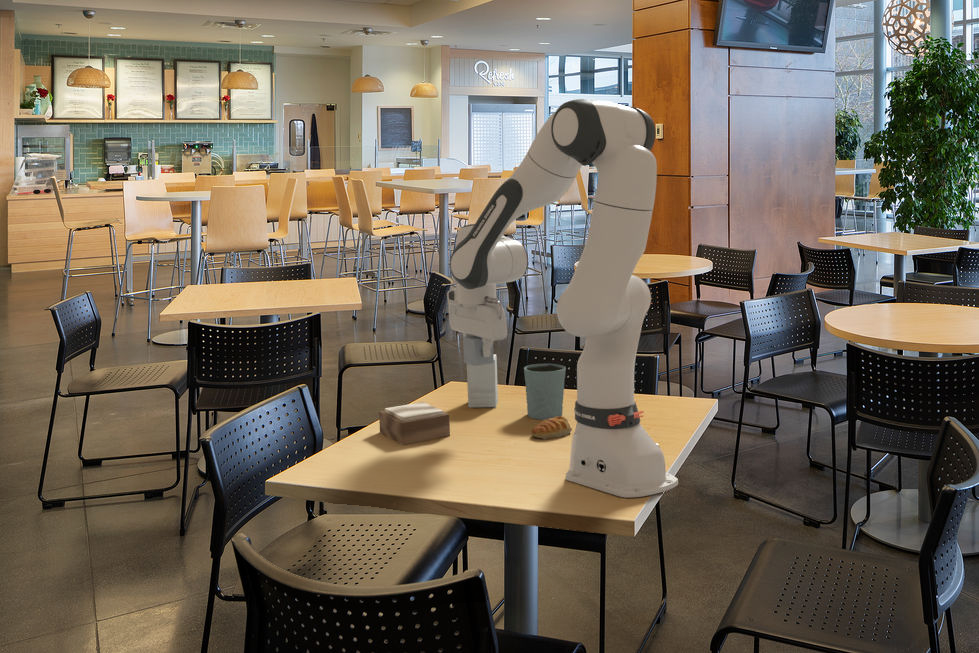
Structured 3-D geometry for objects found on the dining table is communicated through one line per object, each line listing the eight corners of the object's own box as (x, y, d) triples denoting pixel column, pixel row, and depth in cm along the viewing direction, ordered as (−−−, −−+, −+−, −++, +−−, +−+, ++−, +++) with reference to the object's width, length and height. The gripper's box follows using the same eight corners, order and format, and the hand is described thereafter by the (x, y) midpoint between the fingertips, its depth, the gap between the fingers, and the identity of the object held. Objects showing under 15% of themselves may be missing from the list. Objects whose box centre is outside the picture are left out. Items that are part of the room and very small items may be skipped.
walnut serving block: (449, 435, 204) (449, 411, 203) (402, 444, 198) (401, 419, 197) (425, 424, 214) (424, 400, 213) (379, 432, 208) (378, 408, 207)
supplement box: (498, 400, 235) (497, 353, 233) (496, 408, 227) (495, 359, 225) (470, 400, 235) (469, 353, 233) (467, 407, 228) (466, 359, 226)
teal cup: (521, 419, 216) (521, 371, 214) (527, 409, 226) (526, 362, 224) (563, 420, 214) (563, 372, 212) (567, 410, 224) (567, 363, 222)
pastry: (546, 442, 198) (546, 426, 197) (524, 437, 202) (523, 421, 202) (574, 433, 204) (573, 417, 203) (552, 428, 209) (551, 412, 208)
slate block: (493, 363, 204) (493, 337, 203) (475, 366, 202) (474, 339, 201) (482, 359, 209) (481, 334, 208) (463, 362, 206) (463, 336, 205)
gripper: (513, 297, 196) (514, 359, 198) (466, 289, 213) (468, 346, 215) (488, 300, 192) (490, 363, 194) (443, 292, 210) (445, 349, 212)
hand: (478, 354), depth 205 cm, fingers closed on slate block, 5 cm apart
